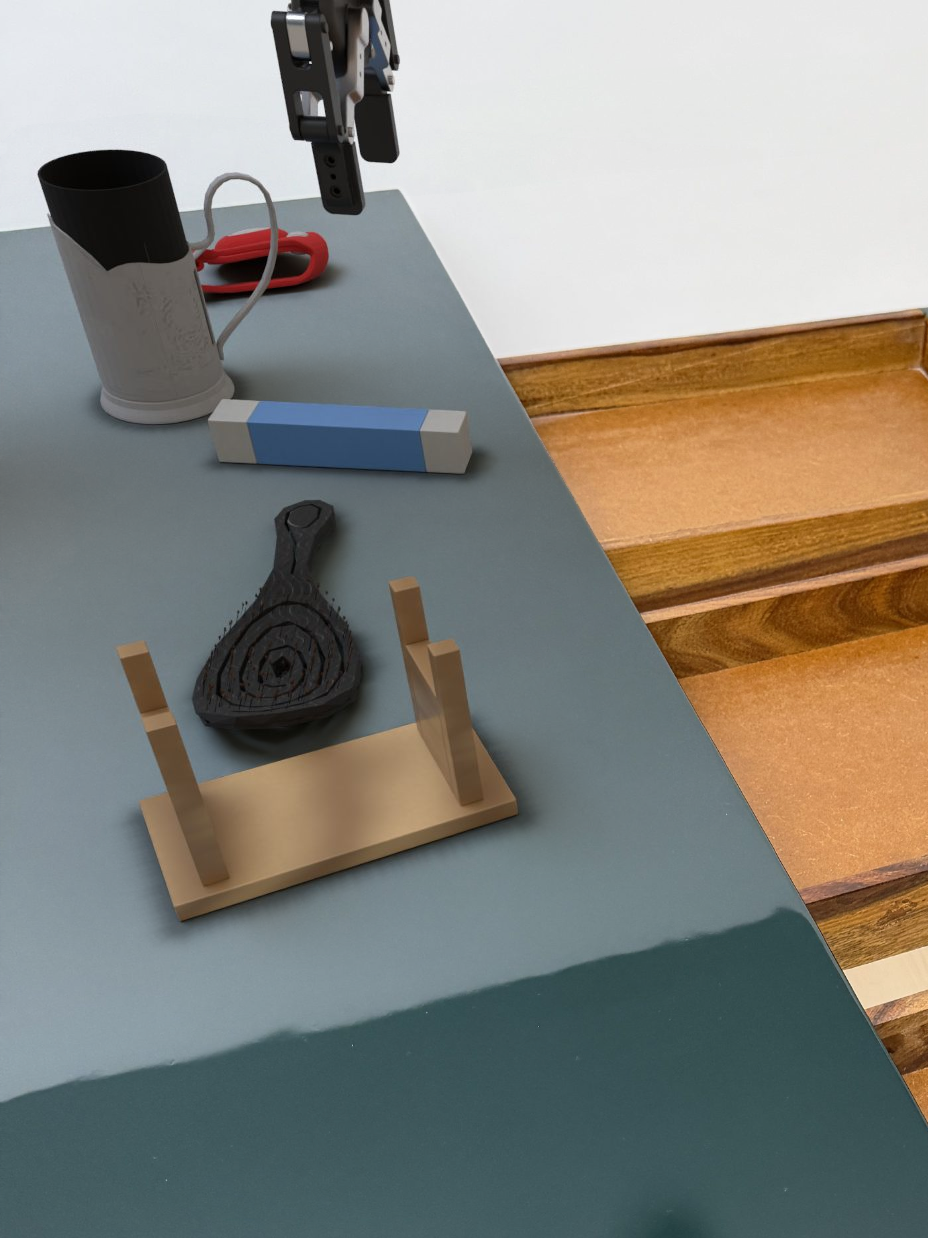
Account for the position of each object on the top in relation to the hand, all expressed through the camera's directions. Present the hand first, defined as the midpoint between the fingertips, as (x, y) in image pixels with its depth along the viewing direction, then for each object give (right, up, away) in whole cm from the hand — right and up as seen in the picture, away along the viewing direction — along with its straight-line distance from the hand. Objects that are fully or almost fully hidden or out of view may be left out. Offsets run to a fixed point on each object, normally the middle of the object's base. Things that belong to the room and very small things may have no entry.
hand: (363, 185), depth 82 cm
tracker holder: (-20, +7, +31) cm, 38 cm away
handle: (-5, -13, +12) cm, 18 cm away
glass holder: (-17, -6, +18) cm, 25 cm away
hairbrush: (-3, -26, -2) cm, 26 cm away
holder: (+3, -37, -13) cm, 40 cm away
